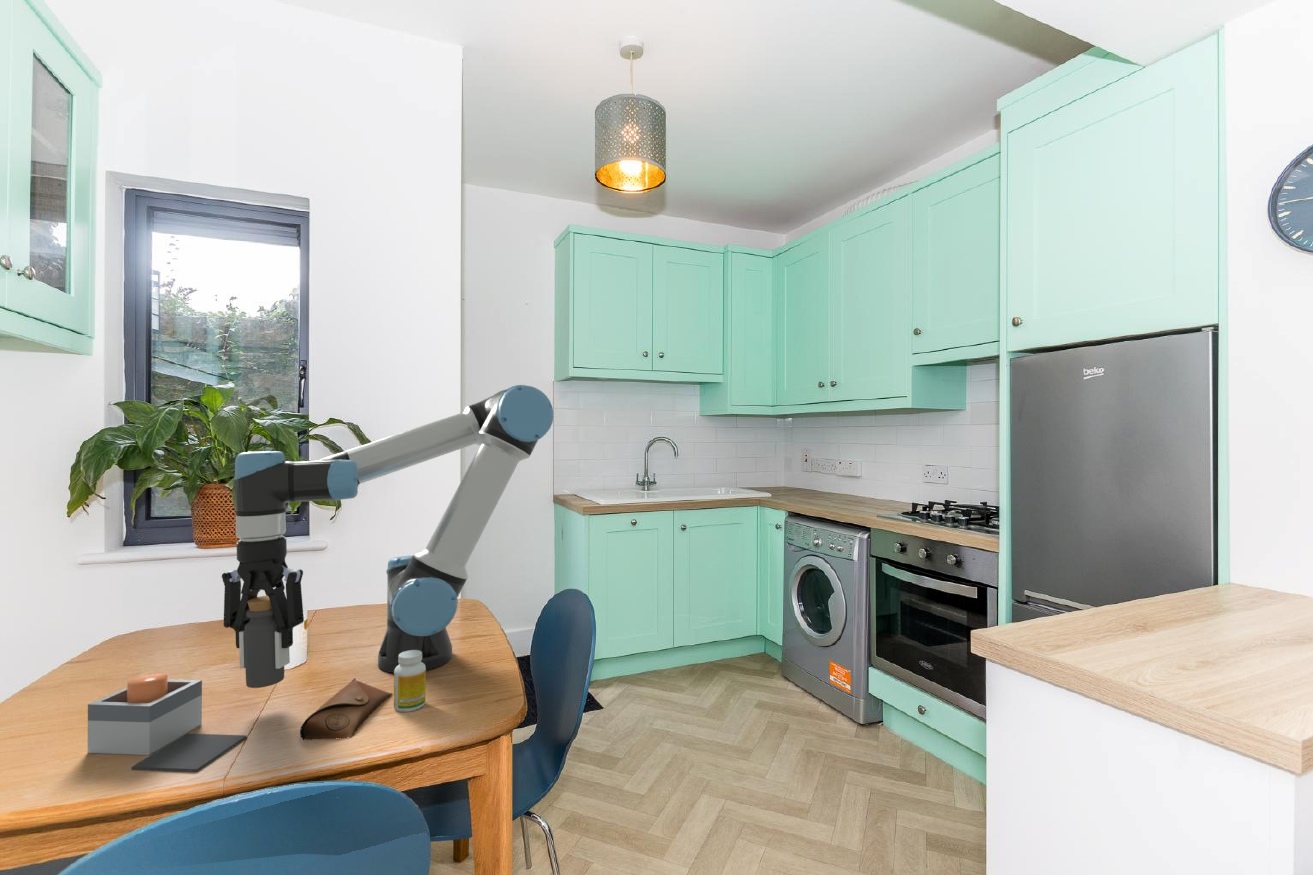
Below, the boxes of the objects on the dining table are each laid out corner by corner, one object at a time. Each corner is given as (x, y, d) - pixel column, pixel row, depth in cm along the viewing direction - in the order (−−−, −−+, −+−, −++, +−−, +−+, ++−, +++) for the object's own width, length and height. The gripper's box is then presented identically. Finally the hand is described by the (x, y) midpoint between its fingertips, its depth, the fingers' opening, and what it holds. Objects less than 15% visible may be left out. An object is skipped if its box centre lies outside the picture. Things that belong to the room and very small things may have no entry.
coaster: (246, 737, 98) (246, 735, 98) (196, 771, 88) (196, 768, 88) (187, 735, 99) (187, 733, 99) (131, 769, 89) (131, 766, 89)
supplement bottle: (387, 707, 109) (388, 654, 109) (414, 697, 114) (414, 646, 114) (404, 715, 106) (405, 661, 106) (431, 704, 111) (431, 652, 111)
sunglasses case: (353, 738, 98) (331, 703, 98) (314, 761, 98) (293, 726, 97) (394, 692, 116) (376, 662, 116) (362, 711, 115) (344, 682, 115)
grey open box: (201, 724, 103) (202, 680, 103) (149, 754, 93) (149, 706, 93) (145, 722, 103) (145, 678, 103) (87, 752, 93) (87, 704, 93)
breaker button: (175, 709, 100) (175, 673, 100) (148, 723, 95) (148, 685, 95) (146, 708, 101) (146, 672, 101) (118, 722, 96) (118, 685, 96)
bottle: (265, 689, 105) (263, 603, 105) (237, 687, 106) (235, 602, 106) (292, 675, 111) (290, 594, 111) (265, 673, 112) (263, 593, 112)
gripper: (325, 533, 112) (328, 657, 112) (227, 534, 113) (230, 657, 113) (299, 540, 104) (302, 674, 104) (194, 541, 105) (198, 673, 105)
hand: (265, 665), depth 109 cm, fingers closed on bottle, 6 cm apart
